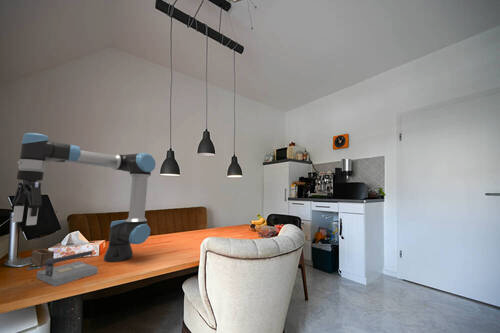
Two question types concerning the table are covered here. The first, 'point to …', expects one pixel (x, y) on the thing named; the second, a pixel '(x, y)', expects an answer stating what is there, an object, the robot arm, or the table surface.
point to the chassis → (65, 273)
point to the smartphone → (34, 267)
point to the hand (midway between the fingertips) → (23, 223)
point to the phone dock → (41, 257)
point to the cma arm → (67, 257)
